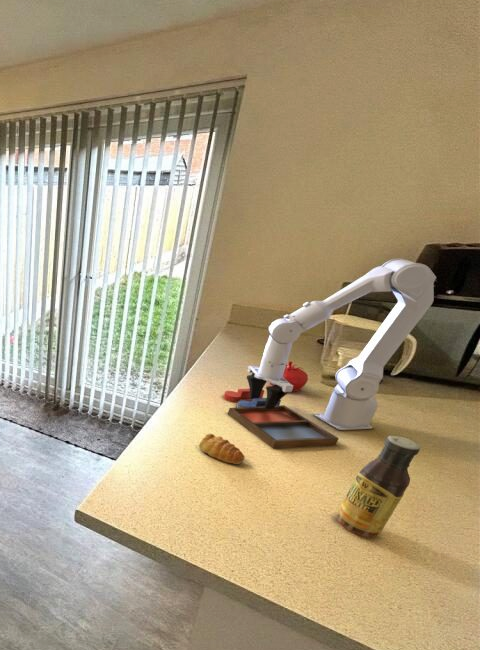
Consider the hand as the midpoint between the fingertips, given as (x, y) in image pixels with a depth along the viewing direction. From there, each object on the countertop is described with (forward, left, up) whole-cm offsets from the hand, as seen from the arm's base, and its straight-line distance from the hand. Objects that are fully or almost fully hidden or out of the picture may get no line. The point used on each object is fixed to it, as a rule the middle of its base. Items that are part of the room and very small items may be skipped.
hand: (261, 403), depth 116 cm
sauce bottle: (+15, +45, -2) cm, 48 cm away
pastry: (+26, +20, -2) cm, 33 cm away
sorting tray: (+3, +11, -2) cm, 11 cm away
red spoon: (+1, -7, -2) cm, 7 cm away
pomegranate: (-18, -13, -2) cm, 22 cm away
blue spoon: (+1, 0, -2) cm, 2 cm away
